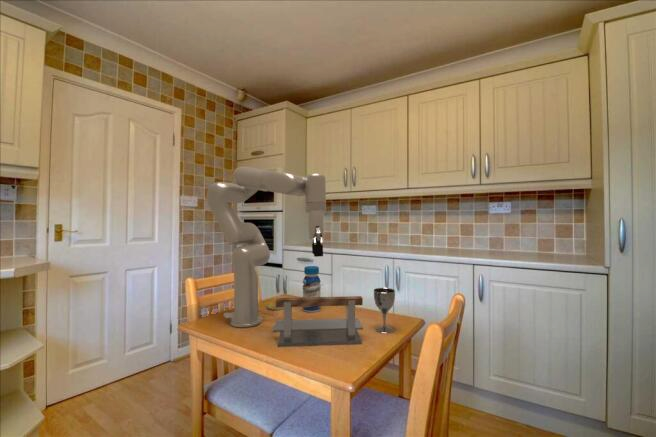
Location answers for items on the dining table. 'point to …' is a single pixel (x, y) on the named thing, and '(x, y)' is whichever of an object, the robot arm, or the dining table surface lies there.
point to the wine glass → (384, 305)
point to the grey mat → (316, 325)
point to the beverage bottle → (311, 286)
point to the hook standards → (319, 336)
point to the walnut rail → (319, 301)
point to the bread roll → (273, 305)
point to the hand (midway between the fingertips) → (317, 255)
